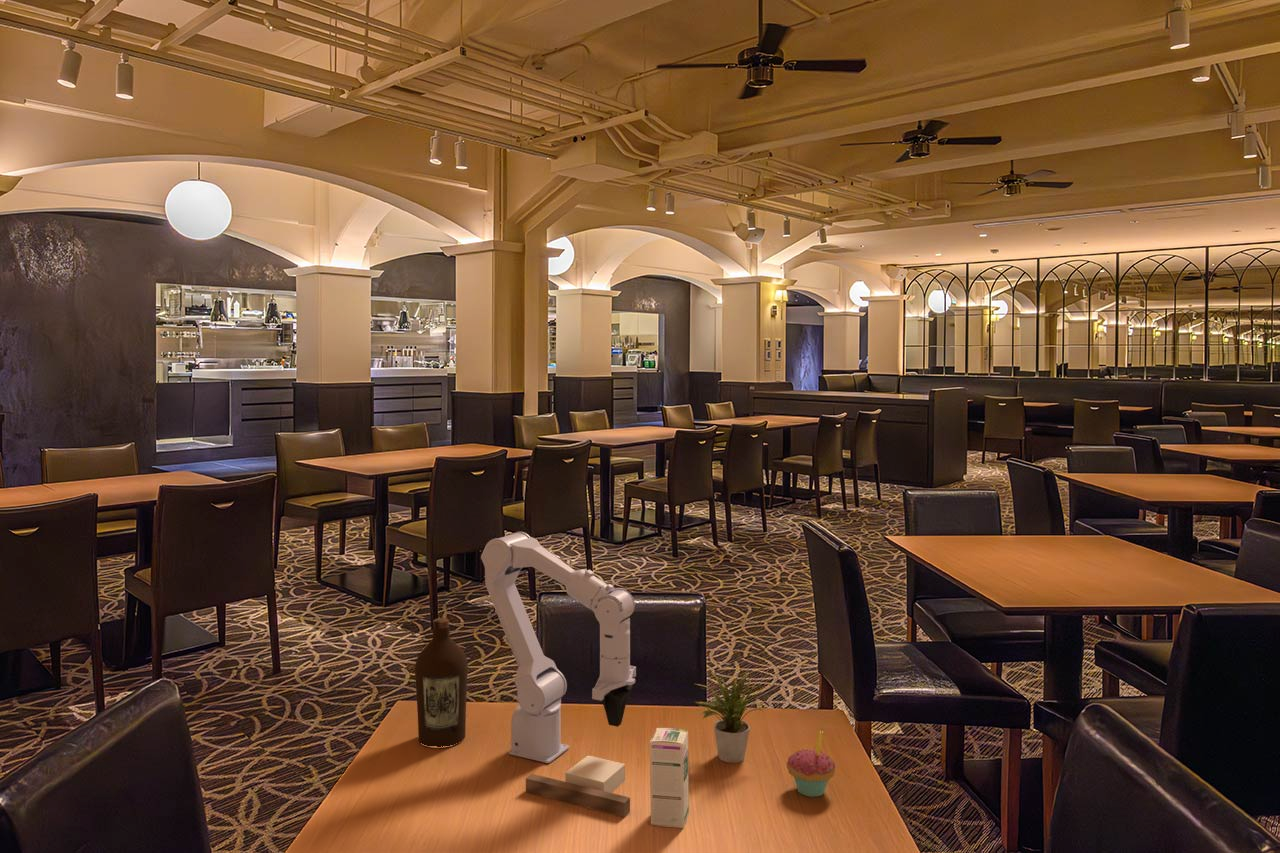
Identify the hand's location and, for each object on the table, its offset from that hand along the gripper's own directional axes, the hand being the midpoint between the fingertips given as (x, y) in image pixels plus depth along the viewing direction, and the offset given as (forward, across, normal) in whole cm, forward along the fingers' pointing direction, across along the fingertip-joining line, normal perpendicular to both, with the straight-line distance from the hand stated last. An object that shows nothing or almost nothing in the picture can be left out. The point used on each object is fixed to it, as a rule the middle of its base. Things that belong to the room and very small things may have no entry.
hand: (614, 724), depth 158 cm
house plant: (+9, +15, -18) cm, 25 cm away
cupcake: (+9, +7, -36) cm, 38 cm away
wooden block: (+9, -8, 0) cm, 12 cm away
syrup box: (+9, -13, -17) cm, 23 cm away
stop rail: (+8, -14, 0) cm, 17 cm away
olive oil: (+9, -4, +38) cm, 39 cm away
